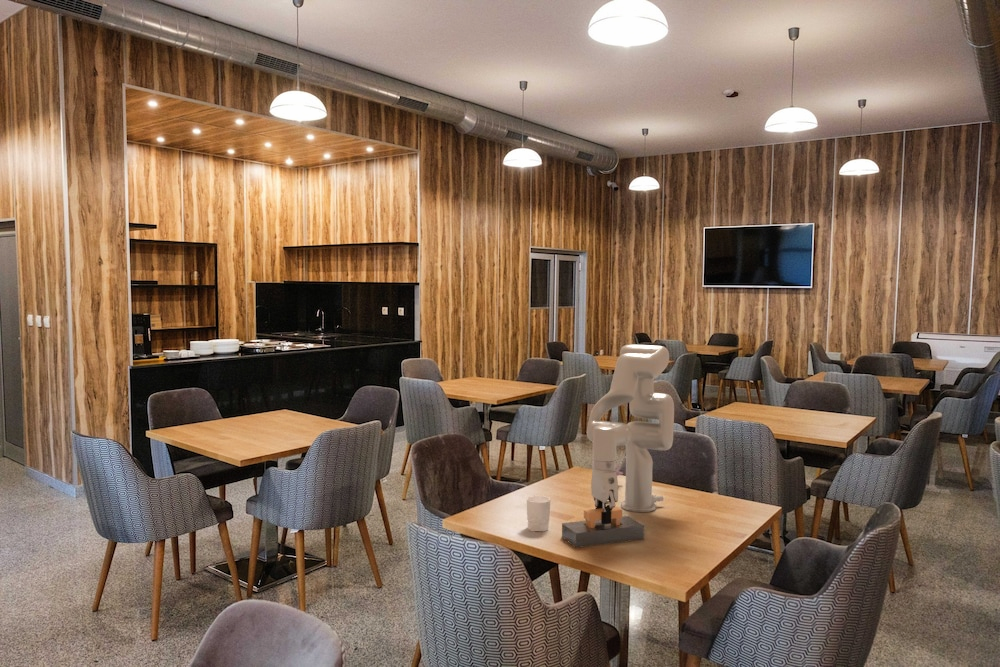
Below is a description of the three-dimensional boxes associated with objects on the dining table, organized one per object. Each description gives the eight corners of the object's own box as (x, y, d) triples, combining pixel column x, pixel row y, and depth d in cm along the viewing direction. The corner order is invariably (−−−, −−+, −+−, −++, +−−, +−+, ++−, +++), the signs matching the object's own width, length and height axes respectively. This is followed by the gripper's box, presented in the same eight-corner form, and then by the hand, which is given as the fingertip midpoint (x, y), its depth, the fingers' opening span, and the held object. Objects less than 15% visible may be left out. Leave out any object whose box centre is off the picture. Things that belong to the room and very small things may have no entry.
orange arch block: (616, 529, 229) (617, 506, 228) (622, 532, 225) (622, 509, 225) (583, 533, 225) (583, 510, 224) (588, 536, 221) (588, 513, 221)
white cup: (533, 534, 228) (534, 503, 228) (521, 526, 235) (522, 497, 235) (554, 530, 232) (555, 500, 231) (542, 523, 239) (542, 494, 238)
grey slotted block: (627, 529, 234) (628, 515, 234) (643, 539, 224) (644, 525, 224) (561, 537, 226) (562, 523, 225) (575, 547, 216) (576, 533, 216)
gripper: (627, 470, 217) (626, 528, 218) (602, 458, 233) (601, 513, 234) (606, 471, 215) (605, 531, 216) (581, 459, 230) (580, 515, 231)
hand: (603, 521), depth 225 cm, fingers closed on orange arch block, 3 cm apart
